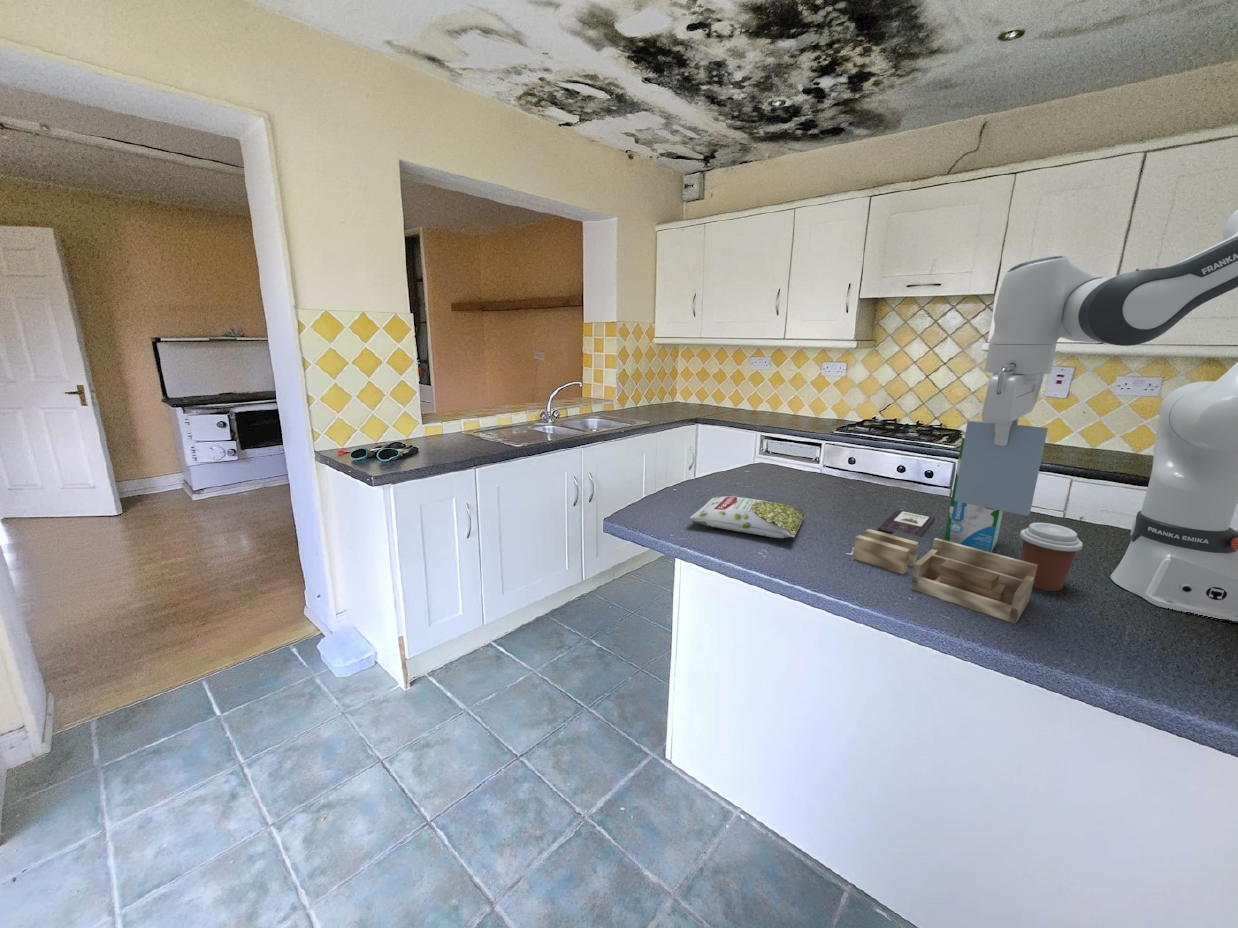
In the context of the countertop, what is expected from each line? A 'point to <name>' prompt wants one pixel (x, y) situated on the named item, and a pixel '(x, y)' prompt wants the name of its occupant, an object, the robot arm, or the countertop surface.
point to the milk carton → (972, 521)
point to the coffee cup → (1049, 553)
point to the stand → (885, 551)
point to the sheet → (1000, 467)
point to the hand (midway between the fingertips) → (1003, 443)
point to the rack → (1009, 569)
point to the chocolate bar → (907, 523)
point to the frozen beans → (750, 516)
